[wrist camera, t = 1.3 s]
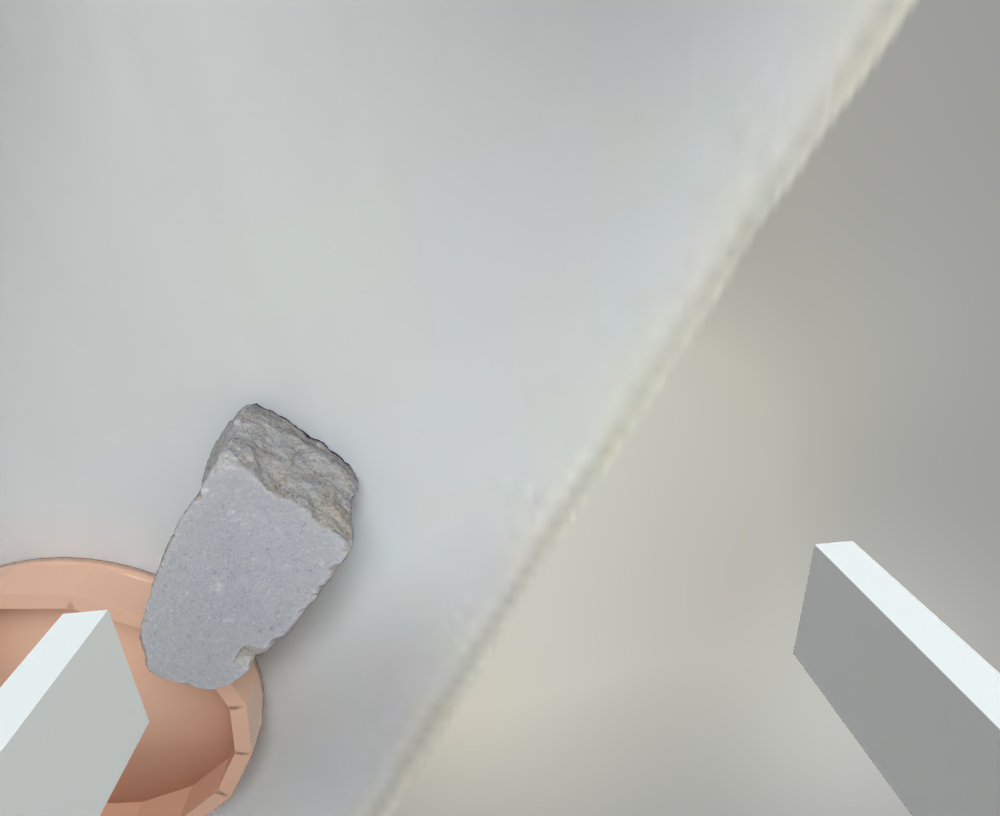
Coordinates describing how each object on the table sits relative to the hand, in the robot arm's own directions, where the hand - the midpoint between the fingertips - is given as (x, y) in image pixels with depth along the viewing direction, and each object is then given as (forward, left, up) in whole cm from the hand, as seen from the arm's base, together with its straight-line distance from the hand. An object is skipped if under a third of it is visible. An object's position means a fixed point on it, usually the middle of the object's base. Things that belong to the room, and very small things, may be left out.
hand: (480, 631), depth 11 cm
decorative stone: (-5, -14, -22) cm, 27 cm away
